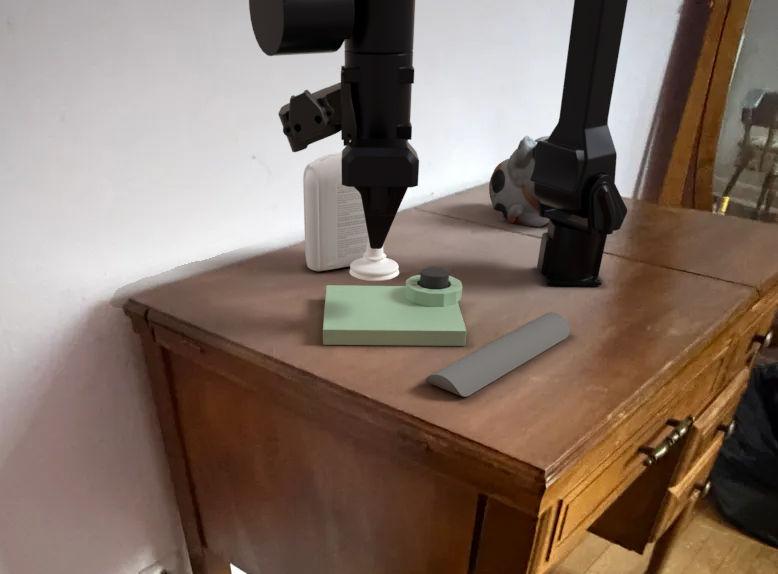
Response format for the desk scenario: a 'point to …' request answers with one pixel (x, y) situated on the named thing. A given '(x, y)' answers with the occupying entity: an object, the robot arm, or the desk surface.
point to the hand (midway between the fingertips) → (375, 244)
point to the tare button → (434, 278)
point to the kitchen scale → (394, 315)
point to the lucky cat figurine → (517, 186)
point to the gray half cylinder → (501, 355)
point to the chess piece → (374, 266)
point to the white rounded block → (332, 216)
